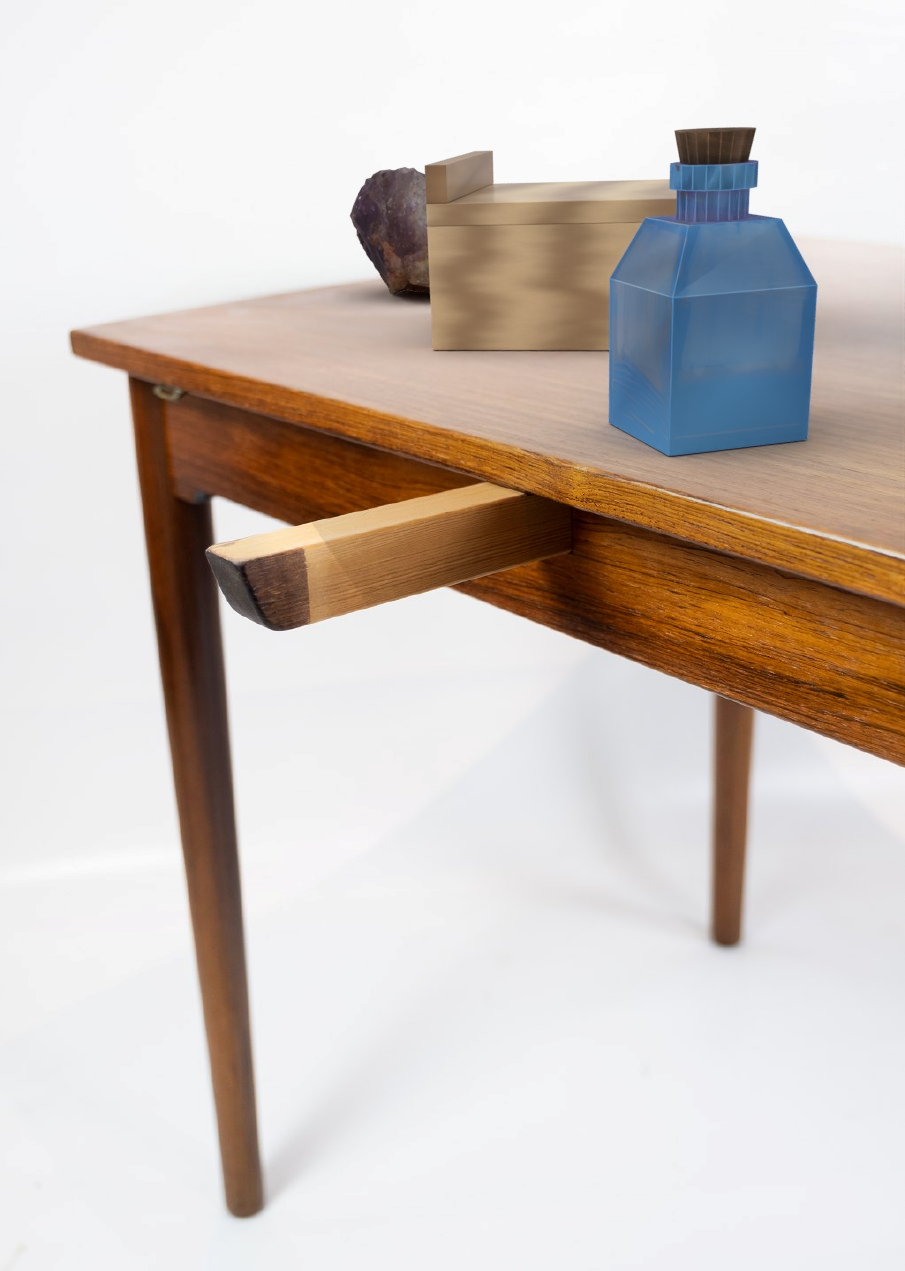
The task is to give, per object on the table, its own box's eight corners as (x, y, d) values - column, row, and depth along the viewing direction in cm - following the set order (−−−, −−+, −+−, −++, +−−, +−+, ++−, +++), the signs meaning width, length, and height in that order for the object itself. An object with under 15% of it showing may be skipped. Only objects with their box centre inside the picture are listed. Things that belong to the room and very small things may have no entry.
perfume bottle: (807, 439, 55) (828, 127, 50) (668, 456, 53) (676, 135, 49) (736, 408, 60) (748, 124, 56) (608, 422, 59) (610, 131, 54)
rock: (491, 298, 102) (361, 297, 103) (493, 180, 100) (360, 181, 101) (480, 296, 91) (334, 295, 91) (481, 163, 89) (332, 164, 89)
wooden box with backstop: (723, 309, 85) (730, 143, 82) (717, 350, 73) (724, 156, 69) (479, 310, 89) (474, 151, 85) (432, 350, 76) (424, 165, 72)
